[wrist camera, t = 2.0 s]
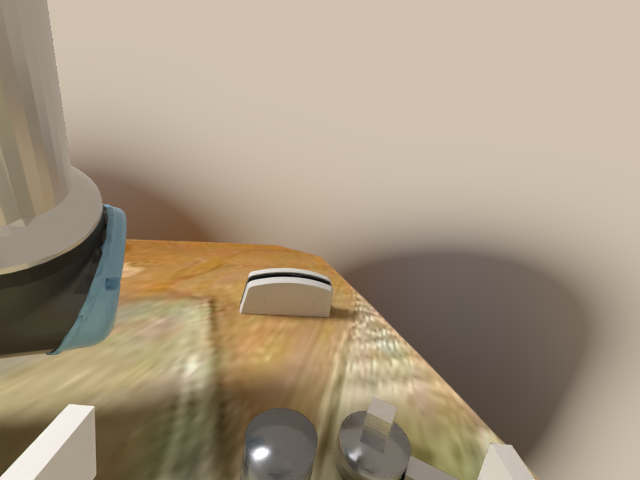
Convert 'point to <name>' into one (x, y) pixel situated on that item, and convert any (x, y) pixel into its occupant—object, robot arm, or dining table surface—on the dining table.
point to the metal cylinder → (279, 446)
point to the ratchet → (379, 448)
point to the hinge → (287, 293)
